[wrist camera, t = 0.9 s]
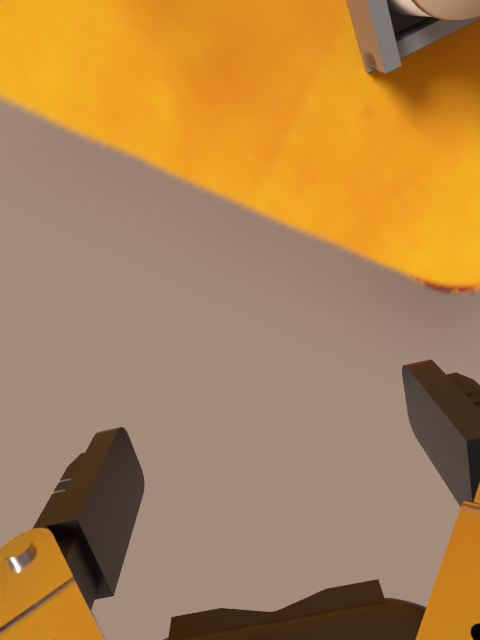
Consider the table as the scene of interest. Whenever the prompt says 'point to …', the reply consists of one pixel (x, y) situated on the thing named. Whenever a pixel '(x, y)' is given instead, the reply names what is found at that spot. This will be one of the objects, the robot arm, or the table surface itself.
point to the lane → (394, 33)
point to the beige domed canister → (436, 8)
